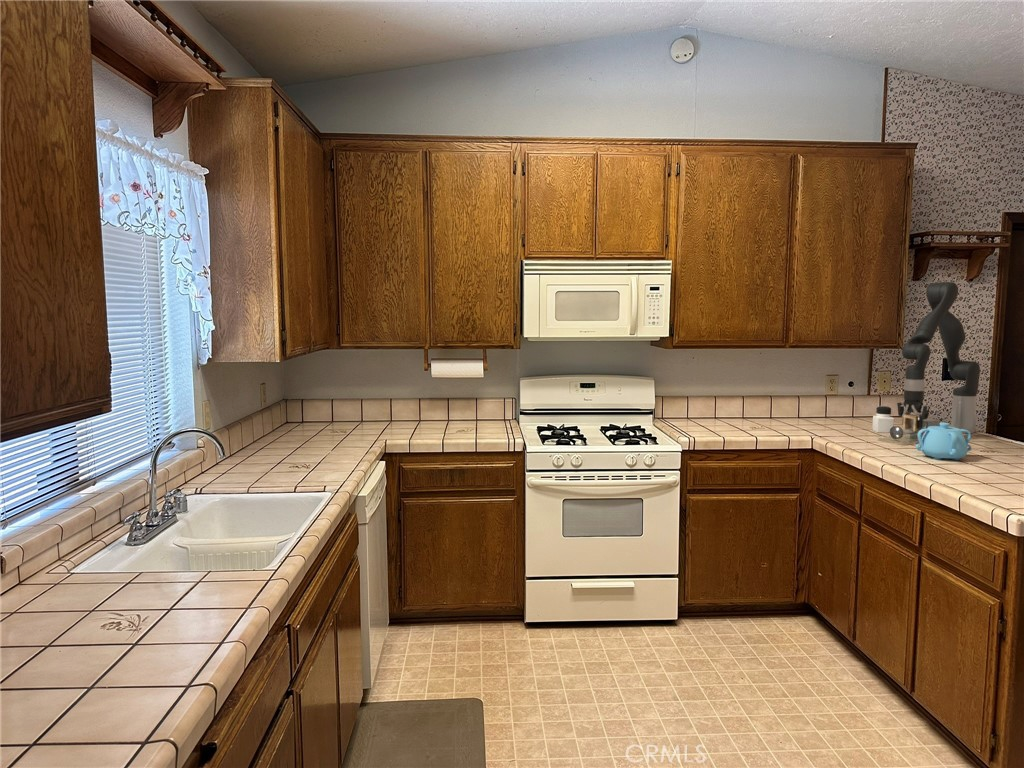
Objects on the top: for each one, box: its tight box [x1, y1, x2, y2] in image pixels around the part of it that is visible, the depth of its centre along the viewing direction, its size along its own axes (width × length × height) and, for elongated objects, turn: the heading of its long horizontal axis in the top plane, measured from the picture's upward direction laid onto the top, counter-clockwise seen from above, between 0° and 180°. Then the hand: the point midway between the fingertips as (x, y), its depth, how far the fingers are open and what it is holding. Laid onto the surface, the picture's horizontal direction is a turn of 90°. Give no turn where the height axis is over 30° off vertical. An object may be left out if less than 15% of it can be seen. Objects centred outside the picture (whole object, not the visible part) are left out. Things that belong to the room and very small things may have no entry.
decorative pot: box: [915, 422, 972, 461], centre depth 259 cm, size 16×16×14 cm
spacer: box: [902, 413, 922, 431], centre depth 293 cm, size 4×6×7 cm
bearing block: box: [877, 417, 941, 446], centre depth 293 cm, size 26×12×9 cm, turn 111°
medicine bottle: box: [872, 405, 895, 434], centre depth 315 cm, size 7×7×12 cm
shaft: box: [889, 425, 923, 439], centre depth 293 cm, size 18×6×6 cm, turn 112°
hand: (912, 427), depth 293 cm, fingers closed on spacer, 5 cm apart
